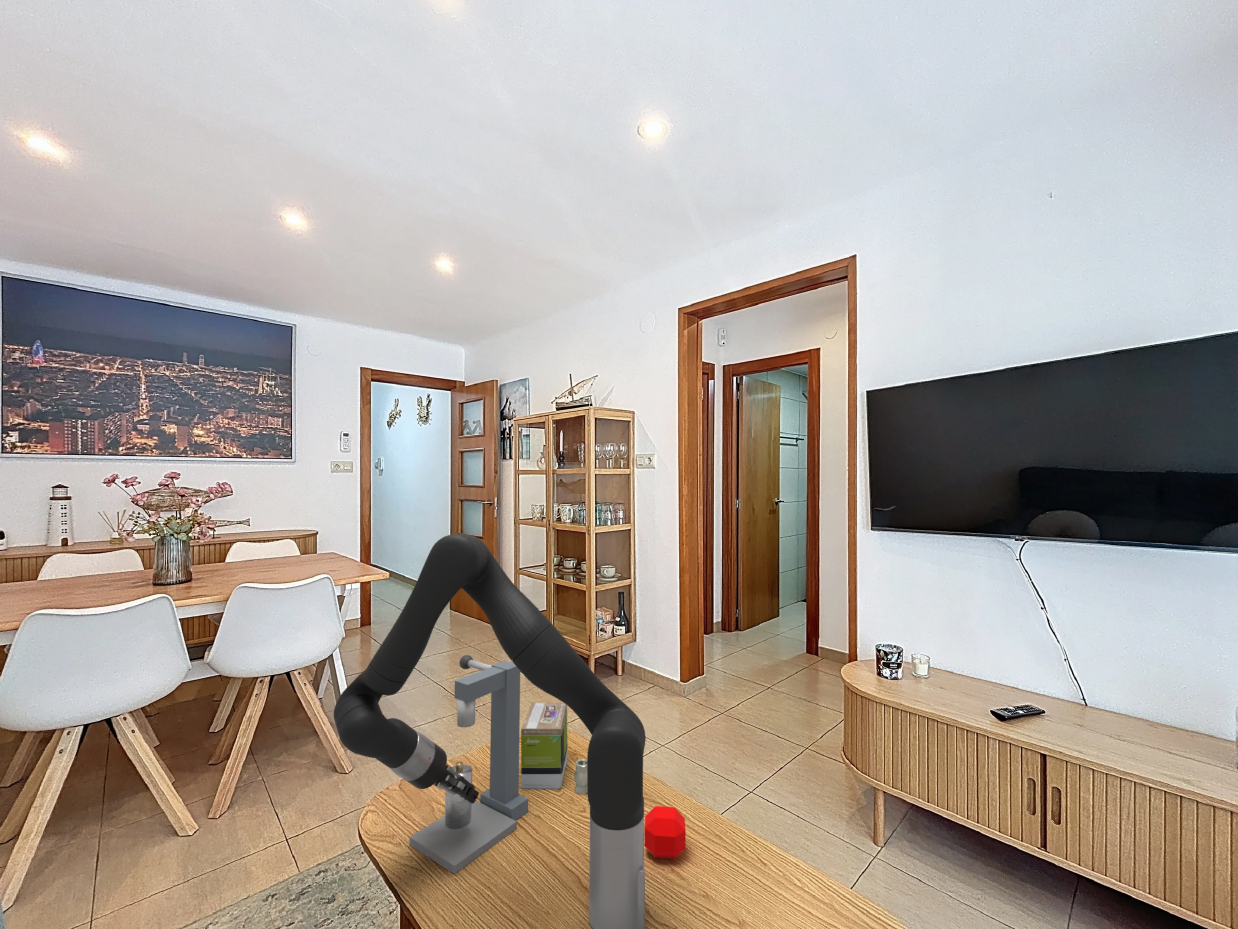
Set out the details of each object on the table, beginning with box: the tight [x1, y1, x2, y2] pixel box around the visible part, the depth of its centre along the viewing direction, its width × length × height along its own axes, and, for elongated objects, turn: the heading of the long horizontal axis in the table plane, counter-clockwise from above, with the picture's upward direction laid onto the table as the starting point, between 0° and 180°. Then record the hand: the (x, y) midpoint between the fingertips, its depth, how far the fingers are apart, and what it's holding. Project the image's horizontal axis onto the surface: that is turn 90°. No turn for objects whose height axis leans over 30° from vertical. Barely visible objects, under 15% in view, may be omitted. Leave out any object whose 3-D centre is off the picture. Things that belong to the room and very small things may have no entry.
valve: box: [573, 758, 588, 796], centre depth 125 cm, size 7×7×12 cm
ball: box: [644, 805, 687, 860], centre depth 106 cm, size 8×8×8 cm
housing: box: [444, 760, 473, 829], centre depth 109 cm, size 5×5×12 cm
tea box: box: [520, 702, 569, 790], centre depth 134 cm, size 15×10×15 cm
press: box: [409, 654, 529, 875], centre depth 115 cm, size 22×22×32 cm
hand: (465, 793), depth 110 cm, fingers closed on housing, 5 cm apart
